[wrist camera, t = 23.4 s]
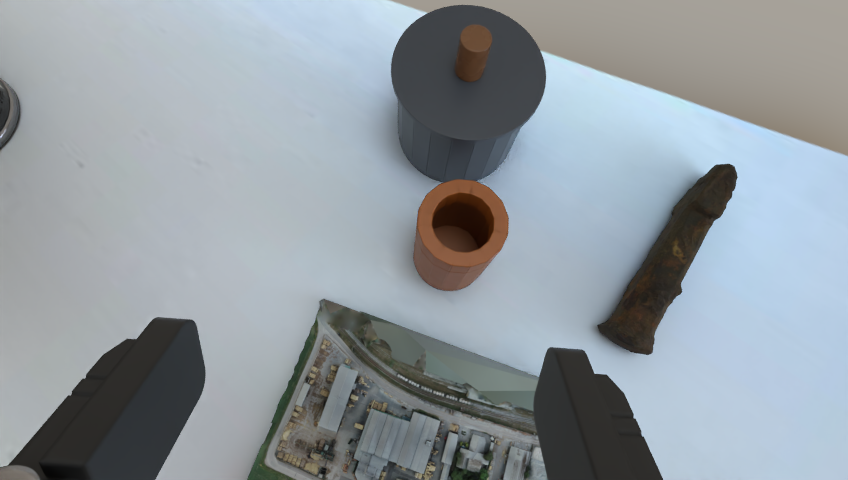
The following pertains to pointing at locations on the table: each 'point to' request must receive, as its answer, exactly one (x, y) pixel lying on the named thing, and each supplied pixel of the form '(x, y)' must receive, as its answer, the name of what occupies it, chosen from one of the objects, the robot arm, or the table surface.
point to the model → (398, 409)
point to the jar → (458, 233)
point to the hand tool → (669, 262)
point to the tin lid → (468, 73)
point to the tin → (450, 152)
